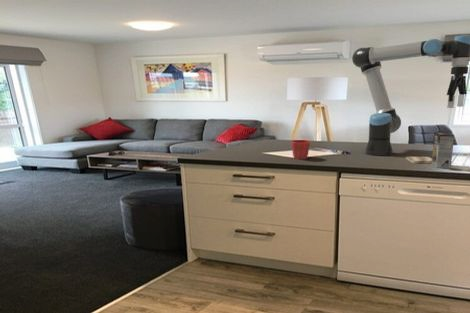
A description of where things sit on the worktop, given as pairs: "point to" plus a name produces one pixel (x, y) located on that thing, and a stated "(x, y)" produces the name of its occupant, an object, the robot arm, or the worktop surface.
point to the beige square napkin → (419, 159)
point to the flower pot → (300, 148)
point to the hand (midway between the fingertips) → (455, 107)
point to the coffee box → (442, 150)
